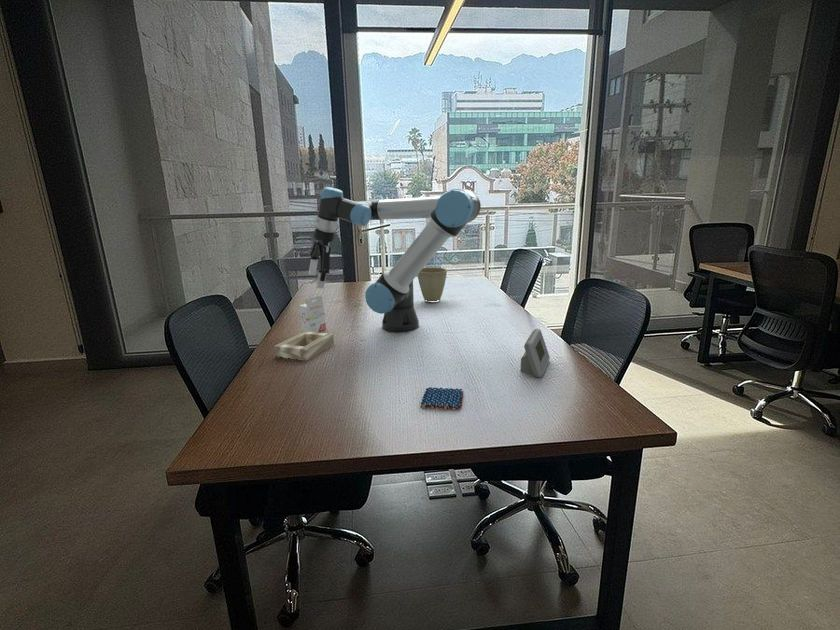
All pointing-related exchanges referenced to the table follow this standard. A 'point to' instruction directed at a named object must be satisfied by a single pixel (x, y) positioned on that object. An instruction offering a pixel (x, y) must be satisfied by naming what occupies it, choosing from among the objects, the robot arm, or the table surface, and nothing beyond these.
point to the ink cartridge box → (313, 315)
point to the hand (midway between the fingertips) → (315, 281)
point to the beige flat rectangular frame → (296, 349)
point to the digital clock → (535, 354)
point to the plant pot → (432, 283)
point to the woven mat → (442, 398)
